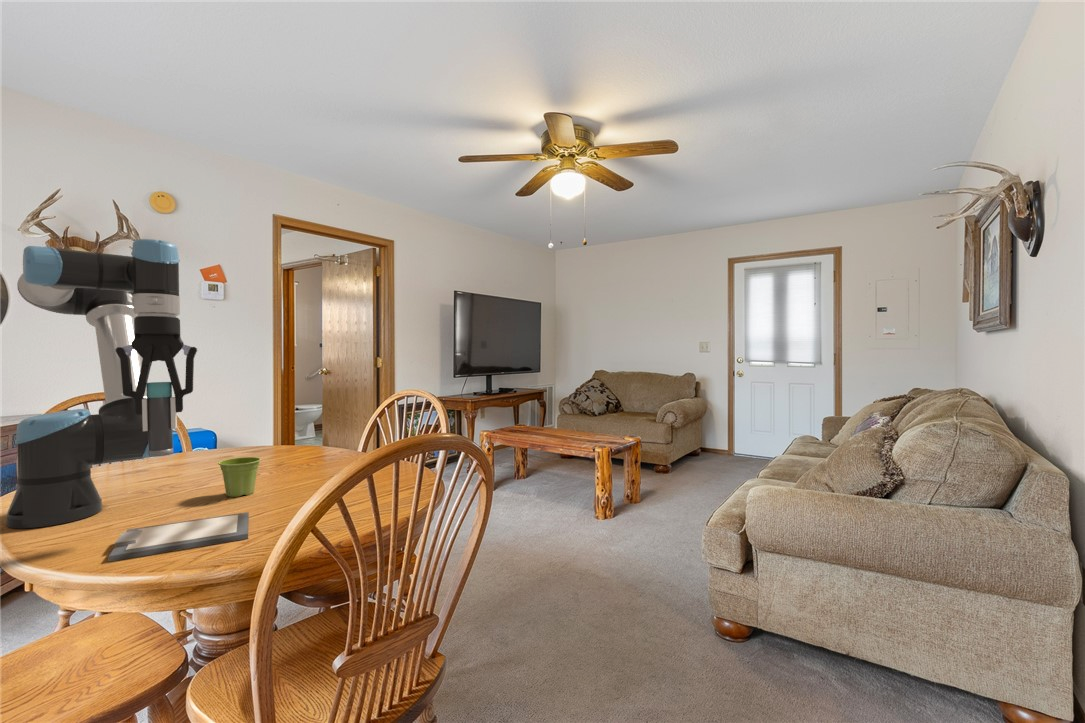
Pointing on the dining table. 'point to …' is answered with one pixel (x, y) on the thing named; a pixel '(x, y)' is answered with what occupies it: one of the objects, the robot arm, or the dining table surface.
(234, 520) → the clipboard
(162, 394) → the marker
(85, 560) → the dining table surface
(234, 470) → the plant pot
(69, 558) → the dining table surface
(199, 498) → the dining table surface
